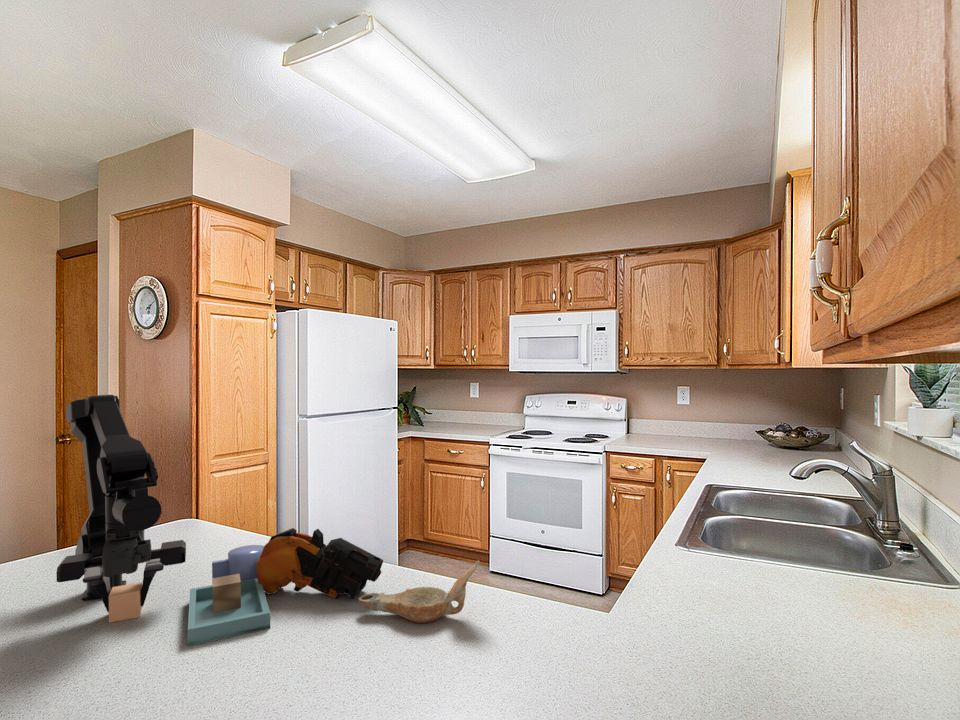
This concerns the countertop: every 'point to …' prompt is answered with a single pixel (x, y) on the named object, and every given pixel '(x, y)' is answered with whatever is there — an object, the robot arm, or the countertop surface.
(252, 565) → the mug
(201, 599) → the tray
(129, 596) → the block terracotta
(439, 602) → the oil lamp
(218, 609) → the block walnut
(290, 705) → the countertop surface
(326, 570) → the tool
